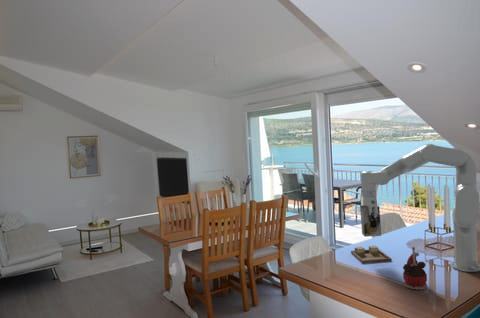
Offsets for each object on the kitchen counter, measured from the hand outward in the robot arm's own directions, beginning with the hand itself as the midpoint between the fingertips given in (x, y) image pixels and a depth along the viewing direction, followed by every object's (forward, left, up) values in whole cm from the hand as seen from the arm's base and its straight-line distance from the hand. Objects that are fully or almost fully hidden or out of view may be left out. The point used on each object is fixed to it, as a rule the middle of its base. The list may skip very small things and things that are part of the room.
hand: (370, 225), depth 200 cm
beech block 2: (+9, -4, -19) cm, 21 cm away
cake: (-37, -5, -20) cm, 42 cm away
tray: (+3, 0, -20) cm, 20 cm away
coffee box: (0, 0, -5) cm, 5 cm away
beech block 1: (+9, +4, -19) cm, 21 cm away
